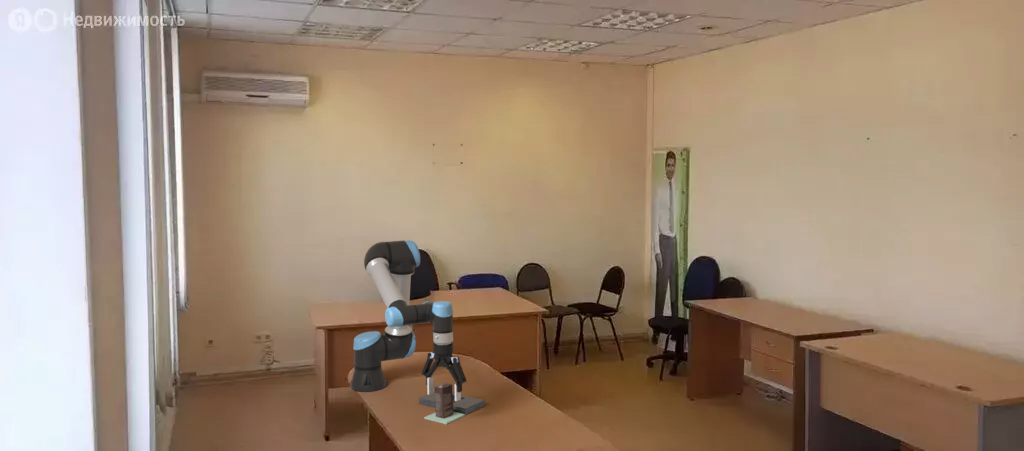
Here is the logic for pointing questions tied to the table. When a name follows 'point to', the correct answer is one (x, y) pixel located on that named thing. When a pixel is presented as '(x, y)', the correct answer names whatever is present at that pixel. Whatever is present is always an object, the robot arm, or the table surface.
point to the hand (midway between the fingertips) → (444, 396)
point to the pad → (444, 420)
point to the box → (443, 400)
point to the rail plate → (460, 406)
